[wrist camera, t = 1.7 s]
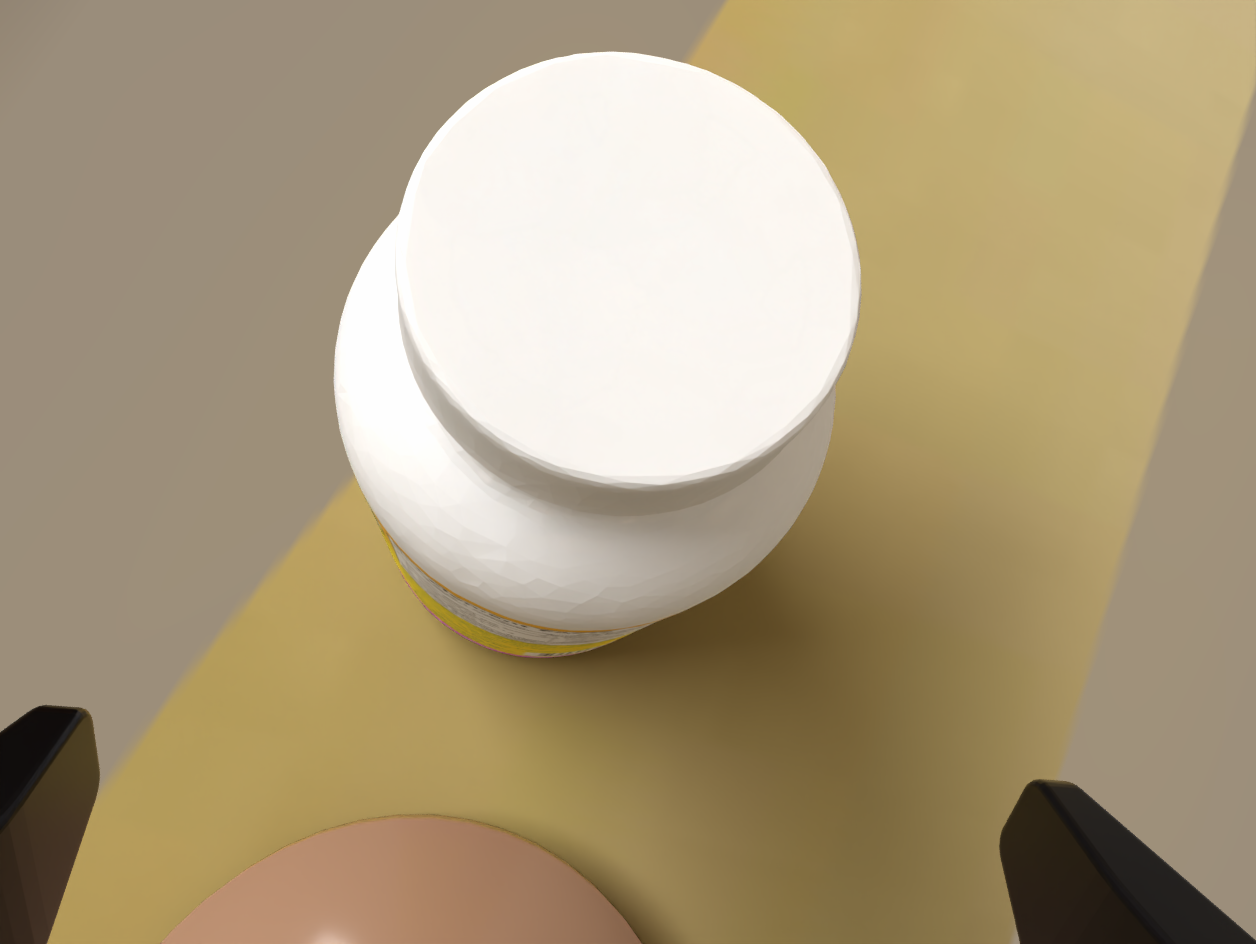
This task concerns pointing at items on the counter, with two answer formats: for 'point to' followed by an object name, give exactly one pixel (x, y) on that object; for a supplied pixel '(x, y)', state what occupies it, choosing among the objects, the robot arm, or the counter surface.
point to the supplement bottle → (597, 350)
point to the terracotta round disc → (407, 891)
